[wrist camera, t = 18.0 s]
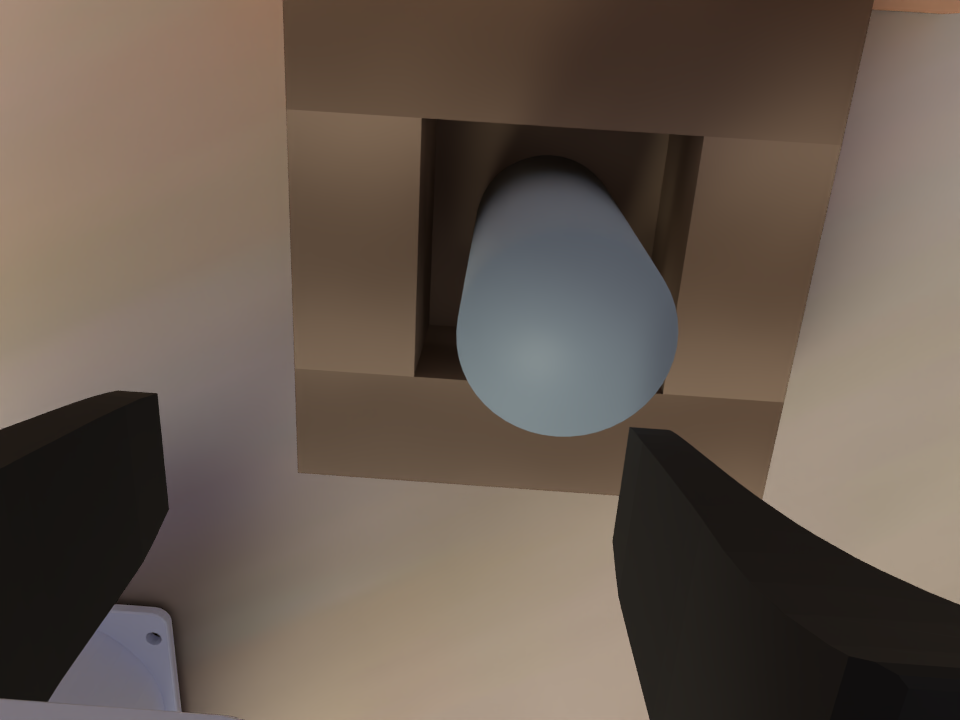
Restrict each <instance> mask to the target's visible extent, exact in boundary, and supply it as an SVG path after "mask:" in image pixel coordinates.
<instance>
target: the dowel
mask: <svg viewBox="0 0 960 720" xmlns="http://www.w3.org/2000/svg"><path fill="white" fill-rule="evenodd" d="M456 337H457V350H458V356H459V360H460V364H461V367H462V370H463V372H464V375H465V377H466V379H467V381H468V383H469V385H470V386H471V388H472V389H473V391H474V392H475V394H476V395H477V396H478V397H479V399H480V400H481V401H482V402H483V403H484V404H485V405H486V406H487V407H488V408H489V409H490V410H491V411H492V412H494V413H495V414H496V415H498V416H499V417H501V418H502V419H503V420H505V421H507V422H509V423H511V424H513V425H514V426H516V427H519V428H521V429H524V430H527V431H529V432H533V433H537V434H541V435H548V436H556V437H571V436H580V435H587V434H591V433H595V432H599V431H602V430H605V429H607V428H610V427H612V426H614V425H616V424H618V423H621V422H623V421H624V420H626V419H627V418H629V417H630V416H632V415H633V414H635V413H636V412H637V411H638V410H640V409H641V408H642V407H643V406H644V405H646V403H647V402H648V401H649V400H650V399H651V398H652V397H653V396H654V395H655V394H656V392H657V391H658V389H659V388H660V387H661V385H662V384H663V382H664V380H665V378H666V377H667V375H668V373H669V371H670V368H671V366H672V363H673V360H674V357H675V353H676V348H677V341H678V318H677V313H676V307H675V304H674V301H673V298H672V295H671V292H670V290H669V288H668V286H667V284H666V282H665V281H664V279H663V277H662V276H661V274H660V272H659V271H658V269H657V268H656V266H655V265H654V263H653V261H652V260H651V258H650V257H649V255H648V254H647V252H646V250H645V249H644V247H643V246H642V244H641V243H640V241H639V239H638V238H637V236H636V235H635V233H634V232H633V230H632V228H631V227H630V225H629V224H628V222H627V221H626V219H625V217H624V216H623V214H622V213H621V211H620V209H619V208H618V206H617V205H616V203H615V202H614V200H613V198H612V197H611V195H610V194H609V192H608V191H607V189H606V187H605V186H604V185H603V183H602V182H601V180H600V179H599V178H598V177H597V176H596V175H595V174H594V173H593V172H592V171H590V170H589V169H588V168H587V167H585V166H583V165H582V164H580V163H578V162H576V161H574V160H571V159H568V158H565V157H561V156H553V155H541V156H534V157H530V158H526V159H523V160H521V161H518V162H516V163H514V164H512V165H511V166H509V167H507V168H506V169H505V170H503V171H502V172H501V173H499V174H498V175H497V176H496V177H495V179H494V180H493V181H492V182H491V183H490V185H489V186H488V187H487V189H486V191H485V193H484V194H483V196H482V199H481V201H480V204H479V207H478V211H477V216H476V221H475V227H474V232H473V238H472V243H471V249H470V254H469V260H468V265H467V271H466V277H465V282H464V288H463V293H462V299H461V304H460V310H459V315H458V322H457V330H456Z"/></svg>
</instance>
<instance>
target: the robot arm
mask: <svg viewBox="0 0 960 720" xmlns="http://www.w3.org/2000/svg"><path fill="white" fill-rule="evenodd" d="M168 510H169V506H168V496H167V486H166V476H165V465H164V455H163V445H162V435H161V425H160V415H159V405H158V394H157V393H143V392H129V391H114V392H109V393H104V394H101V395H97V396H94V397H90V398H87V399H84V400H81V401H78V402H75V403H72V404H69V405H67V406H64V407H61V408H58V409H55V410H53V411H50V412H47V413H44V414H42V415H39V416H36V417H34V418H31V419H28V420H25V421H23V422H20V423H17V424H15V425H12V426H9V427H6V428H4V429H1V430H0V720H243V719H239V718H236V717H232V716H228V715H216V714H202V713H189V712H182V710H181V701H180V692H179V683H178V674H177V665H176V656H175V646H174V637H173V628H172V620H171V617H170V615H169V614H168V613H167V612H166V611H165V610H163V609H161V608H157V607H148V606H134V605H121V604H115V603H116V602H117V600H118V599H119V597H120V596H121V594H122V593H123V591H124V590H125V588H126V587H127V585H128V584H129V582H130V581H131V580H132V578H133V577H134V575H135V574H136V572H137V571H138V569H139V568H140V566H141V565H142V563H143V561H144V559H145V557H146V555H147V554H148V552H149V550H150V548H151V546H152V544H153V542H154V540H155V538H156V536H157V534H158V531H159V529H160V527H161V525H162V523H163V521H164V518H165V516H166V514H167V512H168ZM613 550H614V560H615V570H616V579H617V587H618V596H619V600H620V605H621V609H622V613H623V617H624V621H625V625H626V629H627V633H628V637H629V641H630V645H631V649H632V653H633V657H634V660H635V664H636V668H637V672H638V676H639V680H640V684H641V688H642V692H643V695H644V699H645V703H646V707H647V711H648V715H649V719H650V720H960V605H959V604H956V603H954V602H951V601H949V600H946V599H944V598H942V597H939V596H937V595H934V594H932V593H929V592H927V591H925V590H923V589H920V588H918V587H916V586H914V585H912V584H909V583H907V582H905V581H903V580H901V579H898V578H896V577H894V576H892V575H890V574H888V573H885V572H883V571H881V570H879V569H877V568H875V567H873V566H871V565H869V564H867V563H865V562H863V561H861V560H859V559H857V558H855V557H853V556H852V555H850V554H848V553H846V552H845V551H843V550H841V549H839V548H837V547H836V546H834V545H832V544H830V543H828V542H827V541H825V540H823V539H821V538H820V537H818V536H816V535H814V534H813V533H811V532H810V531H808V530H806V529H805V528H803V527H801V526H800V525H798V524H797V523H795V522H794V521H792V520H791V519H789V518H788V517H786V516H785V515H783V514H782V513H780V512H779V511H777V510H776V509H774V508H773V507H772V506H770V505H769V504H767V503H766V502H764V501H763V500H762V499H760V498H759V497H757V496H756V495H755V494H753V493H752V492H750V491H749V490H748V489H746V488H745V487H744V486H743V485H741V484H740V483H739V482H737V481H736V480H735V479H733V478H732V477H731V476H730V475H728V474H727V473H726V472H724V471H723V470H722V469H721V468H719V467H718V466H717V465H716V464H714V463H713V462H712V461H711V460H709V459H708V458H707V457H706V456H704V455H703V454H702V453H701V452H699V451H698V450H697V449H696V448H694V447H693V446H692V445H691V444H689V443H688V442H687V441H685V440H684V439H683V438H681V437H680V436H679V435H677V434H676V433H674V432H673V431H671V430H665V429H651V428H637V427H629V433H628V440H627V447H626V454H625V460H624V467H623V474H622V481H621V488H620V494H619V501H618V508H617V515H616V522H615V528H614V535H613ZM152 632H154V633H157V634H158V635H160V637H158V636H155V635H154V634H153V633H152Z"/></svg>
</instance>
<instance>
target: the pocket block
mask: <svg viewBox="0 0 960 720" xmlns="http://www.w3.org/2000/svg"><path fill="white" fill-rule="evenodd" d="M873 3H874V0H283V23H284V54H285V85H286V116H287V147H288V178H289V209H290V240H291V271H292V303H293V334H294V365H295V396H296V427H297V458H298V473H308V474H322V475H336V476H350V477H364V478H378V479H392V480H406V481H420V482H434V483H448V484H462V485H476V486H491V487H505V488H519V489H533V490H547V491H561V492H575V493H589V494H603V495H617V496H619V494H620V488H621V481H622V474H623V467H624V460H625V454H626V447H627V440H628V433H629V427H637V428H651V429H665V430H671V431H673V432H674V433H676V434H677V435H679V436H680V437H681V438H683V439H684V440H685V441H687V442H688V443H689V444H691V445H692V446H693V447H694V448H696V449H697V450H698V451H699V452H701V453H702V454H703V455H704V456H706V457H707V458H708V459H709V460H711V461H712V462H713V463H714V464H716V465H717V466H718V467H719V468H721V469H722V470H723V471H724V472H726V473H727V474H728V475H730V476H731V477H732V478H733V479H735V480H736V481H737V482H739V483H740V484H741V485H743V486H744V487H745V488H746V489H748V490H749V491H750V492H752V493H753V494H755V495H756V496H757V497H759V498H760V499H762V498H763V493H764V489H765V484H766V480H767V475H768V471H769V466H770V462H771V457H772V453H773V449H774V444H775V440H776V435H777V431H778V426H779V422H780V417H781V413H782V408H783V404H784V400H785V395H786V391H787V386H788V382H789V377H790V373H791V368H792V364H793V359H794V355H795V350H796V346H797V342H798V337H799V333H800V328H801V324H802V319H803V315H804V310H805V306H806V301H807V297H808V293H809V288H810V284H811V279H812V275H813V270H814V266H815V261H816V257H817V252H818V248H819V243H820V239H821V235H822V230H823V226H824V221H825V217H826V212H827V208H828V203H829V199H830V194H831V190H832V185H833V181H834V177H835V172H836V168H837V163H838V159H839V154H840V150H841V145H842V141H843V136H844V132H845V128H846V123H847V119H848V114H849V110H850V105H851V101H852V96H853V92H854V87H855V83H856V78H857V74H858V70H859V65H860V61H861V56H862V52H863V47H864V43H865V38H866V34H867V29H868V25H869V21H870V16H871V12H872V7H873ZM541 155H553V156H561V157H565V158H568V159H571V160H574V161H576V162H578V163H580V164H582V165H583V166H585V167H587V168H588V169H589V170H590V171H592V172H593V173H594V174H595V175H596V176H597V177H598V178H599V179H600V180H601V182H602V183H603V185H604V186H605V187H606V189H607V191H608V192H609V194H610V195H611V197H612V198H613V200H614V202H615V203H616V205H617V206H618V208H619V209H620V211H621V213H622V214H623V216H624V217H625V219H626V221H627V222H628V224H629V225H630V227H631V228H632V230H633V232H634V233H635V235H636V236H637V238H638V239H639V241H640V243H641V244H642V246H643V247H644V249H645V250H646V252H647V254H648V255H649V257H650V258H651V260H652V261H653V263H654V265H655V266H656V268H657V269H658V271H659V272H660V274H661V276H662V277H663V279H664V281H665V282H666V284H667V286H668V288H669V290H670V292H671V295H672V298H673V301H674V304H675V307H676V313H677V318H678V341H677V348H676V353H675V357H674V360H673V363H672V366H671V368H670V371H669V373H668V375H667V377H666V378H665V380H664V382H663V384H662V385H661V387H660V388H659V389H658V391H657V392H656V394H655V395H654V396H653V397H652V398H651V399H650V400H649V401H648V402H647V403H646V405H644V406H643V407H642V408H641V409H640V410H638V411H637V412H636V413H635V414H633V415H632V416H630V417H629V418H627V419H626V420H624V421H623V422H621V423H618V424H616V425H614V426H612V427H610V428H607V429H605V430H602V431H599V432H595V433H591V434H587V435H580V436H571V437H556V436H548V435H541V434H537V433H533V432H529V431H527V430H524V429H521V428H519V427H516V426H514V425H513V424H511V423H509V422H507V421H505V420H503V419H502V418H501V417H499V416H498V415H496V414H495V413H494V412H492V411H491V410H490V409H489V408H488V407H487V406H486V405H485V404H484V403H483V402H482V401H481V400H480V399H479V397H478V396H477V395H476V394H475V392H474V391H473V389H472V388H471V386H470V385H469V383H468V381H467V379H466V377H465V375H464V372H463V370H462V367H461V364H460V360H459V356H458V350H457V337H456V330H457V322H458V315H459V310H460V304H461V299H462V293H463V288H464V282H465V277H466V271H467V265H468V260H469V254H470V249H471V243H472V238H473V232H474V227H475V221H476V216H477V211H478V207H479V204H480V201H481V199H482V196H483V194H484V193H485V191H486V189H487V187H488V186H489V185H490V183H491V182H492V181H493V180H494V179H495V177H496V176H497V175H498V174H499V173H501V172H502V171H503V170H505V169H506V168H507V167H509V166H511V165H512V164H514V163H516V162H518V161H521V160H523V159H526V158H530V157H534V156H541Z"/></svg>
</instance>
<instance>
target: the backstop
mask: <svg viewBox="0 0 960 720" xmlns="http://www.w3.org/2000/svg"><path fill="white" fill-rule="evenodd" d="M872 10H888V11H904V12H920V13H937V14H951V13H960V0H874V3H873V7H872Z"/></svg>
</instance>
